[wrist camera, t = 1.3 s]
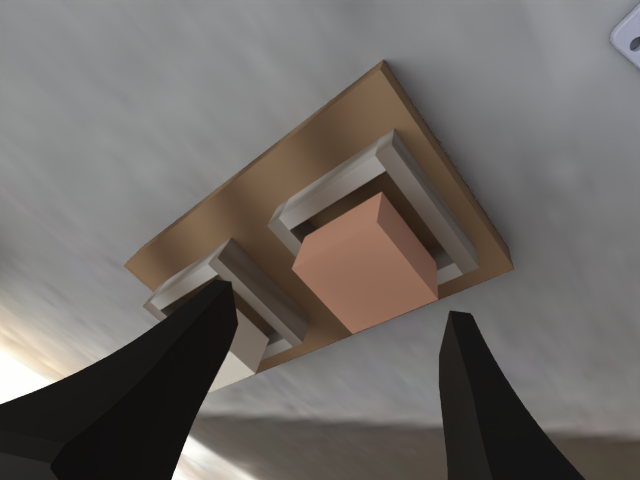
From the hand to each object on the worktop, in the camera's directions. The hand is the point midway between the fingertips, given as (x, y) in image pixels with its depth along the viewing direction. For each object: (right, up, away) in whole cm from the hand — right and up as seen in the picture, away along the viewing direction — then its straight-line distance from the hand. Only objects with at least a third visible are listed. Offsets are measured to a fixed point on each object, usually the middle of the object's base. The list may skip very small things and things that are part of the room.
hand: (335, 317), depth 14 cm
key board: (-2, +2, +12) cm, 12 cm away
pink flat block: (+2, +2, +6) cm, 6 cm away
